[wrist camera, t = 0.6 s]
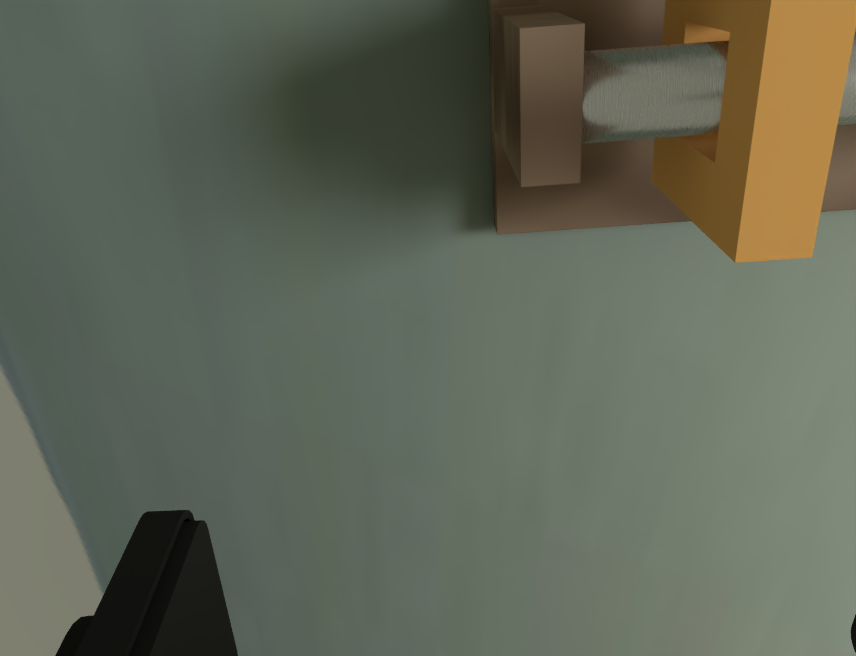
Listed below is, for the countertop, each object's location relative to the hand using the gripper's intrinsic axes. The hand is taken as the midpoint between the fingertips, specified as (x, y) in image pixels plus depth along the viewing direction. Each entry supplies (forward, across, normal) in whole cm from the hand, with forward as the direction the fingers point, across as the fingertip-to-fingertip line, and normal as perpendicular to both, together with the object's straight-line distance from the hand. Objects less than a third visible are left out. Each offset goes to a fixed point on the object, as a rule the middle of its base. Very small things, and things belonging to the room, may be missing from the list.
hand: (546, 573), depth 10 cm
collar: (+23, -9, -3) cm, 25 cm away
